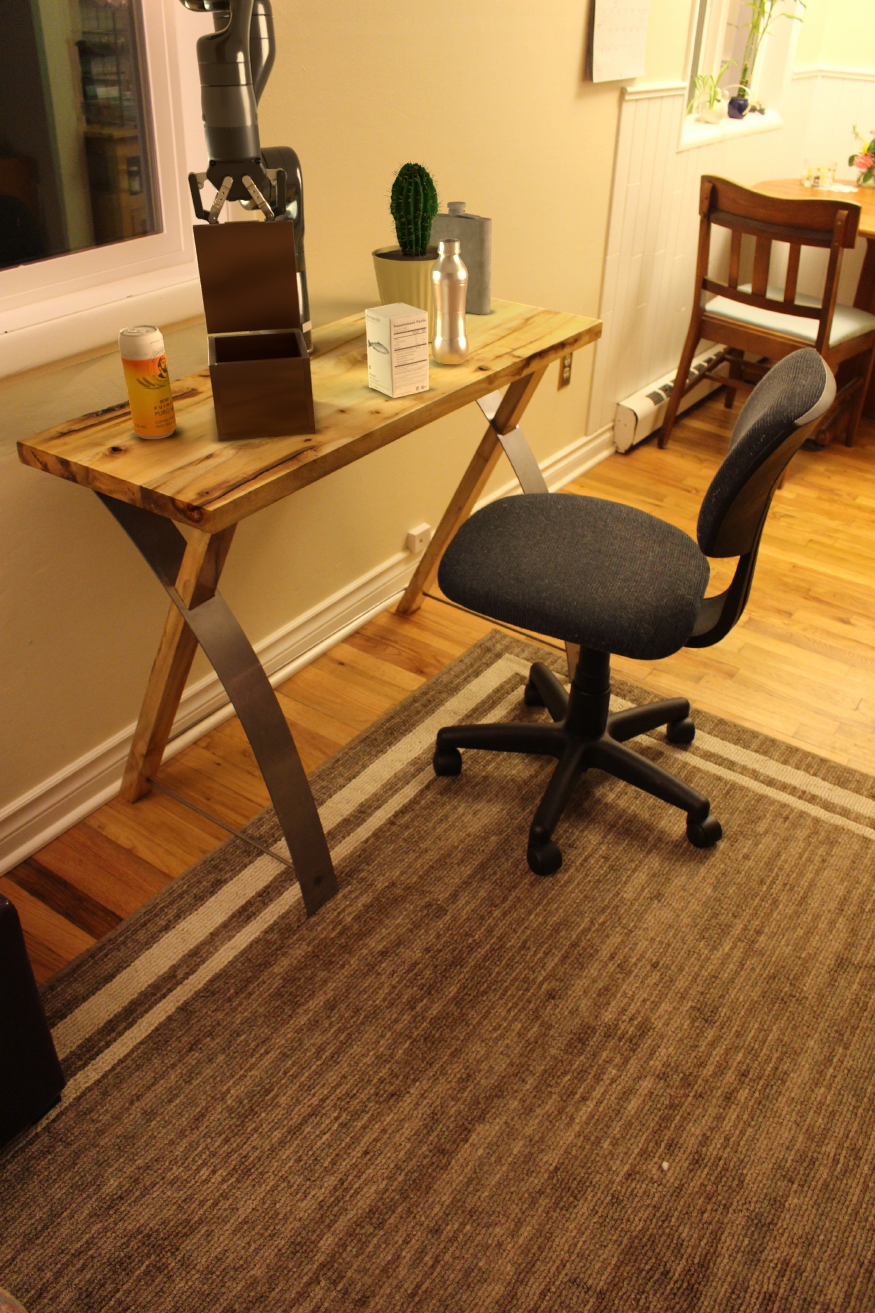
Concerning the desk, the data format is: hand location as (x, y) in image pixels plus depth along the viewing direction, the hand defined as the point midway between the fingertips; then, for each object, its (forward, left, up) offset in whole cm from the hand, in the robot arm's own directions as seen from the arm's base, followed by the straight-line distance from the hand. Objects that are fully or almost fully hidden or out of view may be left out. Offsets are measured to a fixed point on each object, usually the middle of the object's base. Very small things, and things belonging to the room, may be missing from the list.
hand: (244, 247), depth 151 cm
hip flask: (-9, +62, -23) cm, 67 cm away
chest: (+8, -7, -23) cm, 25 cm away
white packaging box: (+15, +16, -23) cm, 32 cm away
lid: (+4, -3, -3) cm, 6 cm away
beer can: (-1, -20, -23) cm, 31 cm away
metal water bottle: (+13, +32, -23) cm, 42 cm away
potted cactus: (-3, +42, -23) cm, 48 cm away
